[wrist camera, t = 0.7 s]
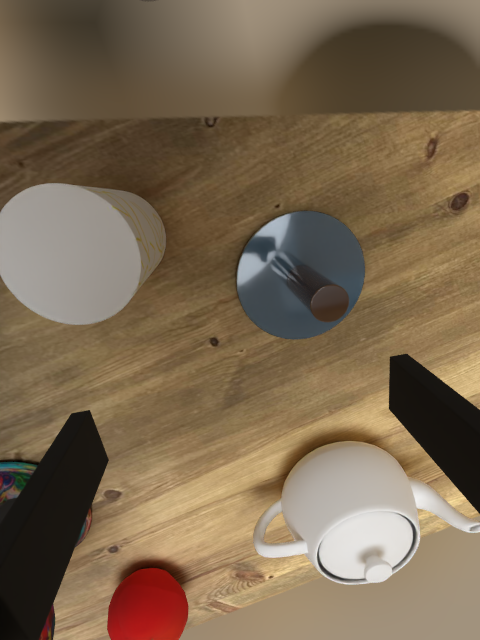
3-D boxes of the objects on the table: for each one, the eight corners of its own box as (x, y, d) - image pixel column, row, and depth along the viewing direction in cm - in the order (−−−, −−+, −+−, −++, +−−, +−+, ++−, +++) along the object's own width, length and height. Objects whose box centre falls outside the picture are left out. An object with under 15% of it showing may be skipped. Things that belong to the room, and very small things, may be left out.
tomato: (117, 555, 44) (97, 631, 36) (192, 555, 45) (189, 629, 38) (116, 599, 47) (97, 678, 39) (187, 598, 49) (182, 675, 41)
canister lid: (242, 203, 30) (255, 205, 21) (372, 217, 31) (434, 223, 23) (230, 331, 34) (237, 375, 26) (345, 338, 36) (388, 382, 27)
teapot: (253, 531, 45) (267, 644, 33) (239, 442, 39) (251, 541, 28) (427, 501, 46) (499, 601, 34) (437, 410, 40) (527, 493, 29)
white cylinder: (171, 277, 32) (150, 319, 20) (86, 283, 31) (16, 329, 20) (159, 187, 29) (127, 179, 18) (65, 192, 28) (-29, 187, 17)
